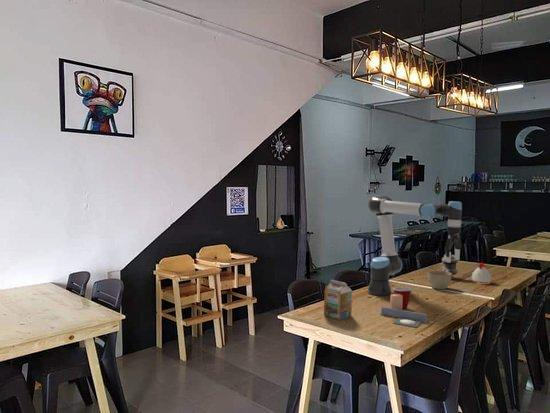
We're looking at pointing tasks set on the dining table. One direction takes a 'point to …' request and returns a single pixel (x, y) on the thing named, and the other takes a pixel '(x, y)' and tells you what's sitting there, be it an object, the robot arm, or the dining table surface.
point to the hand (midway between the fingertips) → (452, 261)
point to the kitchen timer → (481, 275)
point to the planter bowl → (439, 279)
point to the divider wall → (404, 314)
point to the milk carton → (337, 300)
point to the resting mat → (407, 322)
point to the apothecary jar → (450, 266)
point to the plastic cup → (405, 293)
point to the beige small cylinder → (396, 301)
